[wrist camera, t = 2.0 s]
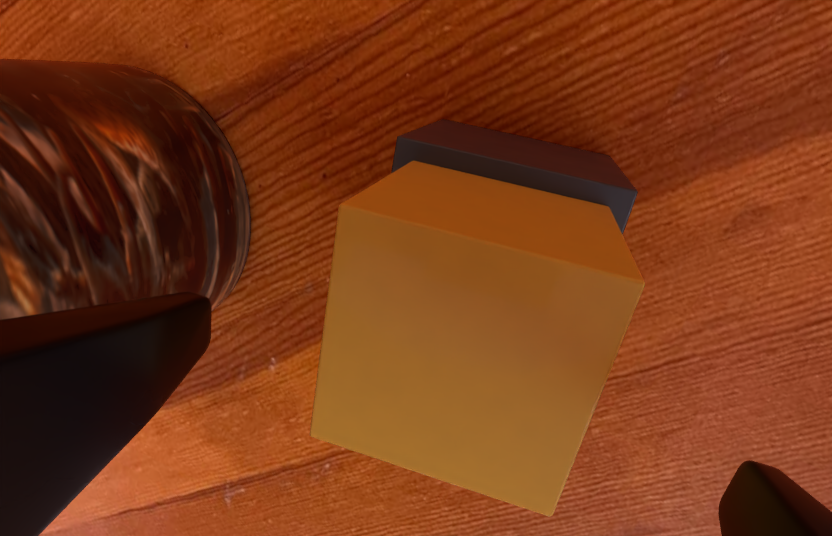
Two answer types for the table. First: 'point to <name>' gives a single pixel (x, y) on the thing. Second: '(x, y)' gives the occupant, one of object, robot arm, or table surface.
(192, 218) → the jar
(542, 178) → the base block
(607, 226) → the top block
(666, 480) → the table surface
